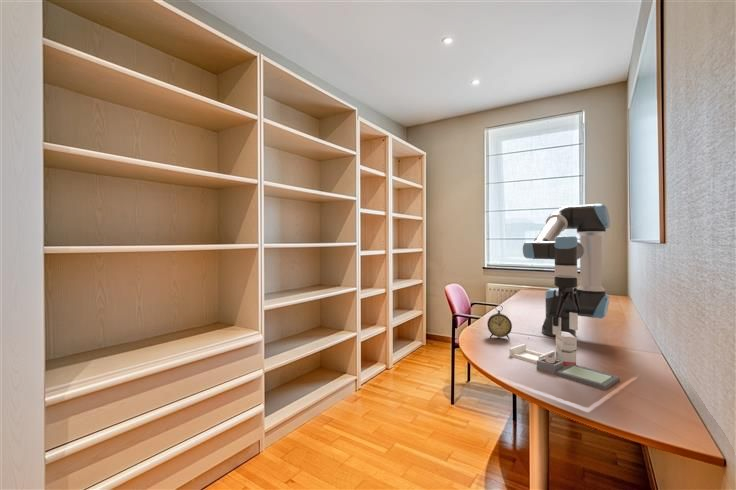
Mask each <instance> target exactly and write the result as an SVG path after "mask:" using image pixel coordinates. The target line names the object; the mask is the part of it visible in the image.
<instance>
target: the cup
mask: <svg viewBox="0 0 736 490" xmlns="http://www.w3.org/2000/svg"><path fill="white" fill-rule="evenodd" d="M563 367H565V366H564V362H563V361H559V360H556V359H555V364H554V365H553V364H550V363H546V362H545V357H544V358H542V359H539V360H537V364H536V370H540V371H543V372H545V373H549V374H552V375H555V371H557V370H559V369H561V368H563Z"/></svg>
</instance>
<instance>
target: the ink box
mask: <svg viewBox="0 0 736 490" xmlns="http://www.w3.org/2000/svg"><path fill="white" fill-rule="evenodd" d="M577 340H578V338H577V337H576V336H573V335H572V334H570V333H569V332H563V331H561V336H559V335H556V337H555V348H554V349H555V350H554V351H555V360H559V361H563V362H564V367H565V366H567V365H569V364H574V365H577V347H578V346H577V345H578V341H577Z"/></svg>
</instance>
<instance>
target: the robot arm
mask: <svg viewBox="0 0 736 490" xmlns="http://www.w3.org/2000/svg"><path fill="white" fill-rule="evenodd" d="M610 227H611V222H610V215H609V210H608V207H607V206H606V205H605V204H603V203H590V204H589V203H588V204H576V205H575V204H574V205H572V204H571V205H566V206H563V207H561V208H559V209H557V210H555V211H553V212H552V213H550V215H549V216H548V217H547V219H546V220H545V225H544V226H543V227H542V228H541V230H540V231H539V233H538V234H537V235H536V237H535V238H534V240H529V241H525V242H524V243H523V246H522V254H523V255H522V256H523V257H524V258H525V259H529V260H530V259H531V260H554V267H553V269H554V275H555V277H554V286H555V287H554V288H550V289H547V290H546V291H545V298H544V299H545V318H544V321H543V324H542V326H541V333H542V334H544V335H546V336H549V337H554V338H556V335H559V336H561V331H563V332H569V333H570V334H572V335H573V336H575V337H576V336H577V331H578V328H579V326H578V324H579V320H578V317H587V318H592V319H603V318H605V317H606V316H607V312H608V310H609V306H610V305H609V304H610V295H609V294H608V293H606V289H605V288H604V286H602V271H603V270H602V266H603V265H602V255H603V254H602V249H603V248H602V244H603V243H602V240H603V239H602V238H603V235H604V234H605V233H607V232H606V229H609V228H610ZM565 230H576V233H577V234H578V235H579V236H580V237H579V239H580V240H579V241H580V242H578V238H577V236H575V235H562V236H561V235H560V234H561V233H562V232H564V231H565ZM578 260H579V261H580V262H579V263H580V264H579V270H580V271H579V272H580V273H579V275H580V276H579V283H580V284H579V286H578V278H577V276H578Z"/></svg>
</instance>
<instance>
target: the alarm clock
mask: <svg viewBox="0 0 736 490" xmlns="http://www.w3.org/2000/svg"><path fill="white" fill-rule="evenodd" d="M498 306H499V307H501V310H497V307H498ZM494 308H495V310H497V313H493V314H492V315H490V316H489V317H488V319H487V323H486V324H487V329H488V331H489V332H490V334H491V335H490V336H489V338H490V339H491V338H492V337H493V336H494V337H498V338H505V337H506V338H508V339H509V340H510V339H511V338H510V337H509V334H510V333H512V332H511V331H512V328H513V324H512V322H511V319H509V317H508V316H507V315H506V314H504V313H501V312H502V311H503V309H504V308H503V305H501V304H496V305H495V307H494Z"/></svg>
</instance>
